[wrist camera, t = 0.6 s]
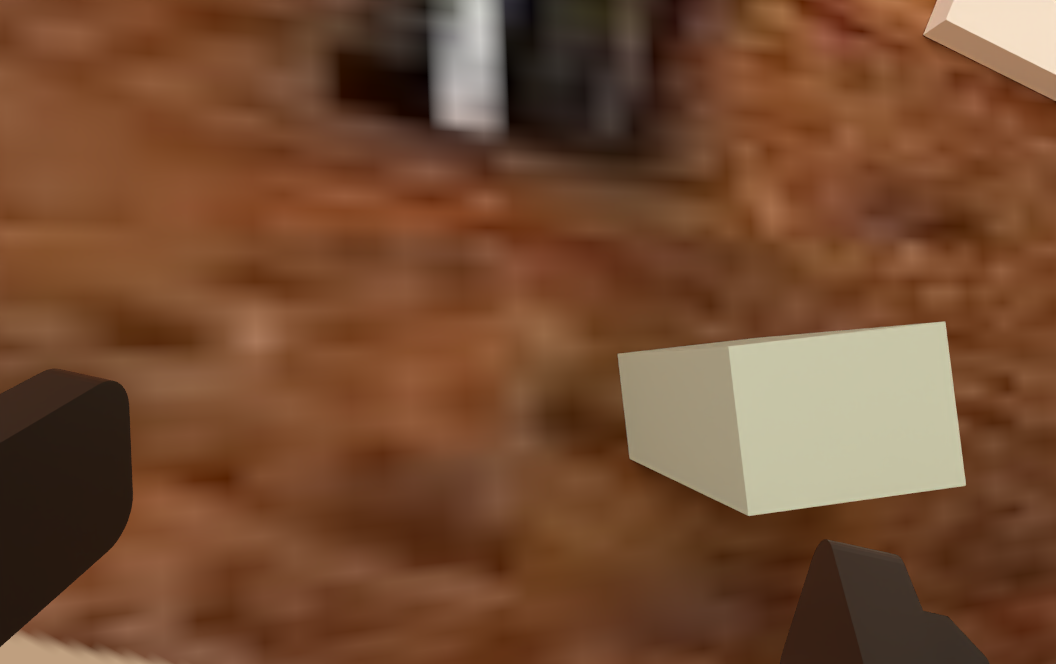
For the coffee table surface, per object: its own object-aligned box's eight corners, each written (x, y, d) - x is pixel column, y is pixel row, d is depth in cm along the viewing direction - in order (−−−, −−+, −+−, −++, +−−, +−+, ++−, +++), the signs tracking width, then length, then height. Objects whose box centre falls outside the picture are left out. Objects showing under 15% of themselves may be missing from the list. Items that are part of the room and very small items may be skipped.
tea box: (617, 353, 31) (728, 346, 20) (756, 337, 32) (945, 321, 20) (629, 460, 31) (748, 519, 19) (768, 442, 32) (966, 488, 20)
